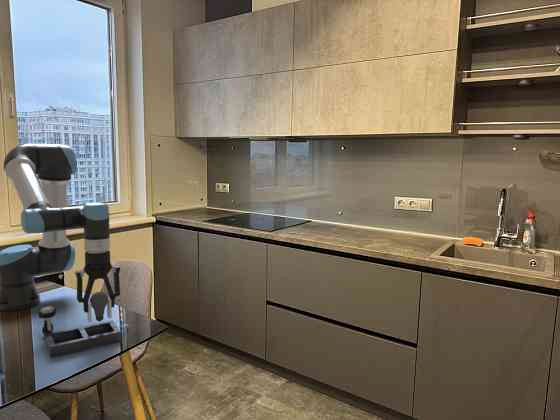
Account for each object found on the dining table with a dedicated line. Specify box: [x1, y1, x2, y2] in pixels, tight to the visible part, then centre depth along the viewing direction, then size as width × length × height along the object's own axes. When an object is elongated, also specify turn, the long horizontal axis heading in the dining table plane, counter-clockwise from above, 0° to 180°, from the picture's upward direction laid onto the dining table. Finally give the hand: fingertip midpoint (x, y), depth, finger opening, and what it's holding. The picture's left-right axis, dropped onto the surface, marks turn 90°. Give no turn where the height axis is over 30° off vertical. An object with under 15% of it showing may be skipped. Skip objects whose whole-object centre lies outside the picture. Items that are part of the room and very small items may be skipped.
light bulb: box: [89, 291, 109, 323], centre depth 133 cm, size 6×6×10 cm
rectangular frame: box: [44, 319, 122, 359], centre depth 132 cm, size 11×20×4 cm, turn 126°
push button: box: [37, 306, 57, 339], centre depth 135 cm, size 7×5×10 cm
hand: (99, 318), depth 134 cm, fingers closed on light bulb, 5 cm apart
